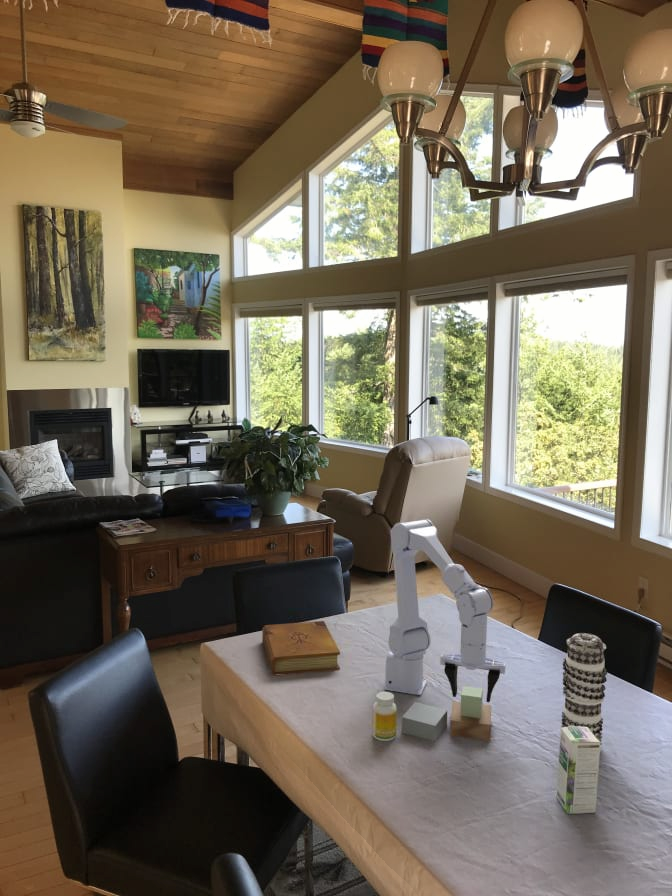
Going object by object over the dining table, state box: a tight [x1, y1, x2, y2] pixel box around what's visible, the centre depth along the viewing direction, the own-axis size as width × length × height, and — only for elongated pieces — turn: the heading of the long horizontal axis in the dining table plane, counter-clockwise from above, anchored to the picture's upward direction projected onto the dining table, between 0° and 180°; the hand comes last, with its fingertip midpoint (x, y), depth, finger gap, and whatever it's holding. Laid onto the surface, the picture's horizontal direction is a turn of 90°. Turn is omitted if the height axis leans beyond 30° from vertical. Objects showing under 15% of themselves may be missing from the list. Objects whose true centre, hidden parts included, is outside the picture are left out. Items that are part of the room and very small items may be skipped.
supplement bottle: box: [371, 691, 398, 742], centre depth 158 cm, size 5×5×10 cm
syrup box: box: [556, 726, 601, 815], centre depth 134 cm, size 6×6×14 cm
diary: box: [261, 620, 341, 676], centre depth 201 cm, size 23×19×6 cm
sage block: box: [460, 685, 484, 718], centre depth 162 cm, size 4×4×5 cm
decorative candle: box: [560, 632, 608, 753], centre depth 153 cm, size 9×9×25 cm
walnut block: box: [449, 700, 492, 741], centre depth 162 cm, size 9×9×4 cm
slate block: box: [401, 701, 448, 742], centre depth 162 cm, size 8×8×4 cm
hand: (471, 697), depth 162 cm, fingers open, 7 cm apart
